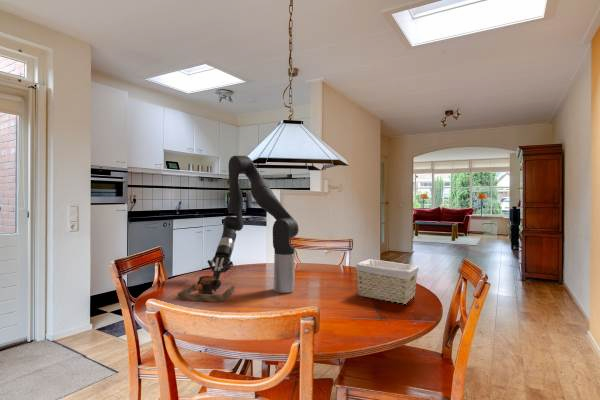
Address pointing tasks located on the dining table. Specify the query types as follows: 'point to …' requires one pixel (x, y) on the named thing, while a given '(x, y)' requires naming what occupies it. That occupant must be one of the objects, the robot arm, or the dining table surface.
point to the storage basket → (386, 280)
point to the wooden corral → (203, 295)
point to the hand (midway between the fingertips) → (215, 279)
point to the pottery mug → (208, 284)
